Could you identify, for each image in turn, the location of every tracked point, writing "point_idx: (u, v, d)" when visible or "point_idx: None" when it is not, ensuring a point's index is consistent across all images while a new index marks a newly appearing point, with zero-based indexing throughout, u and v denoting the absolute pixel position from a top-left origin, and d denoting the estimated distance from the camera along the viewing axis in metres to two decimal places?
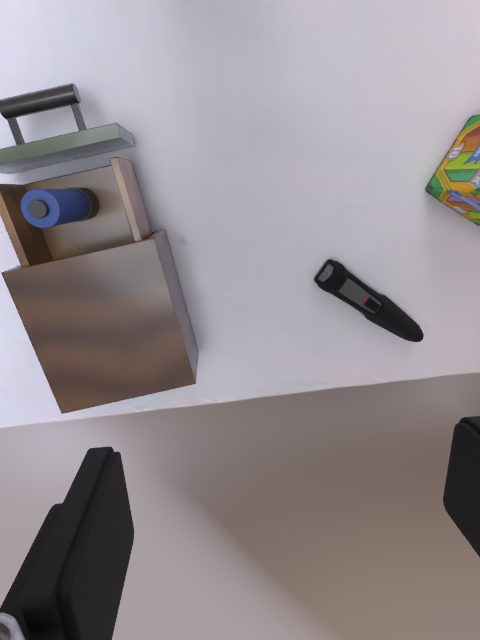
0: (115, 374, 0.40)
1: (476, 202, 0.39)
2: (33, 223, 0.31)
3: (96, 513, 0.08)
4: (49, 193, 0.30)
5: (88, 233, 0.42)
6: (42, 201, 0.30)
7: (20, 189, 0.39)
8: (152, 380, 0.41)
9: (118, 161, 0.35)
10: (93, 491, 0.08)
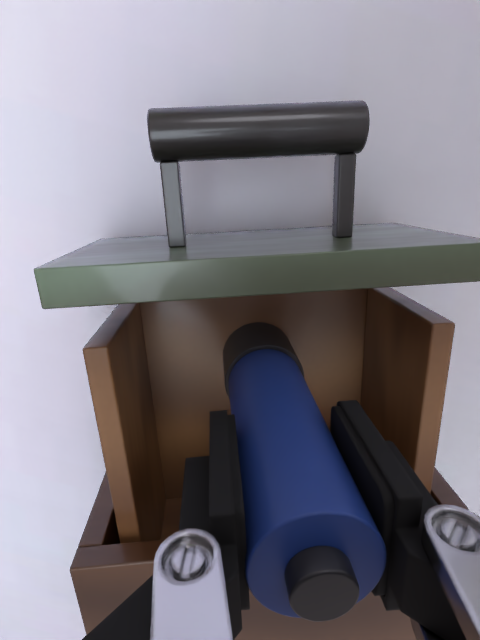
0: None
1: None
2: (273, 606, 0.08)
3: None
4: (369, 526, 0.08)
5: None
6: (350, 570, 0.07)
7: (134, 319, 0.16)
8: None
9: (451, 333, 0.13)
10: (229, 443, 0.10)
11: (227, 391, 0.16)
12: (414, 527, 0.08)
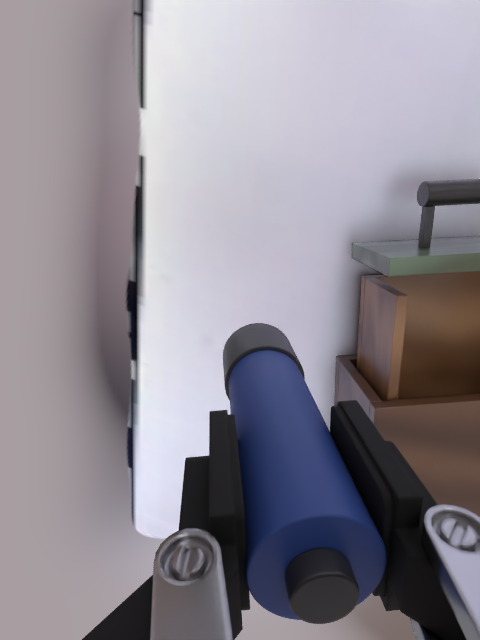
0: None
1: None
2: (273, 608, 0.08)
3: None
4: (370, 528, 0.08)
5: (424, 344, 0.33)
6: (350, 573, 0.07)
7: None
8: None
9: None
10: (229, 443, 0.10)
11: (227, 392, 0.16)
12: (414, 527, 0.08)
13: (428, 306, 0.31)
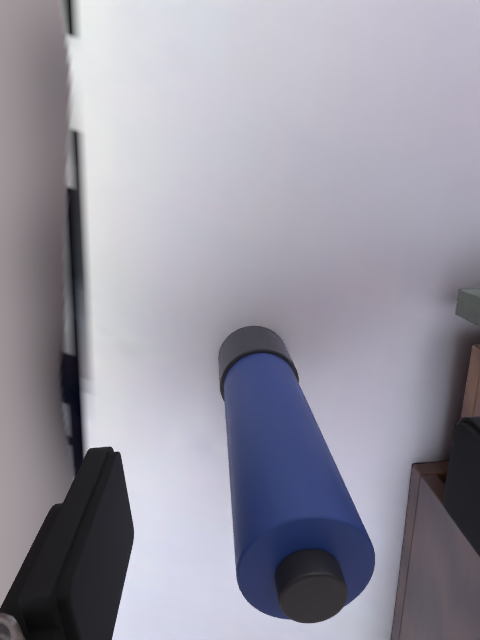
0: None
1: None
2: (264, 608, 0.08)
3: (96, 513, 0.08)
4: (358, 529, 0.08)
5: None
6: (338, 573, 0.08)
7: None
8: None
9: None
10: (93, 491, 0.08)
11: (222, 394, 0.16)
12: None
13: None
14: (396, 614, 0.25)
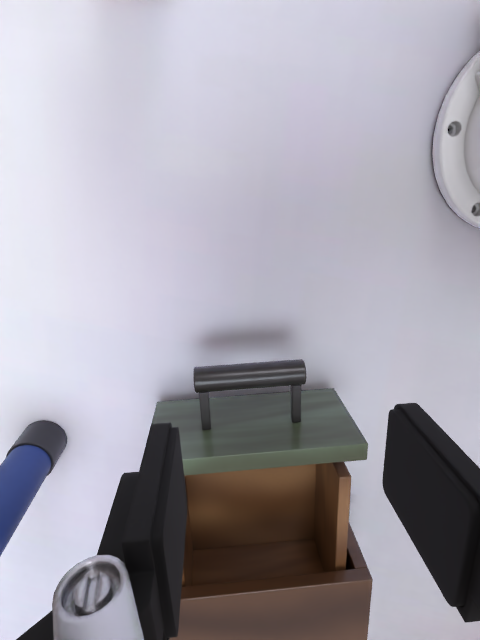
0: None
1: None
2: None
3: (170, 477, 0.09)
4: None
5: (245, 497, 0.31)
6: None
7: None
8: None
9: (350, 481, 0.24)
10: (164, 459, 0.09)
11: None
12: None
13: None
14: None
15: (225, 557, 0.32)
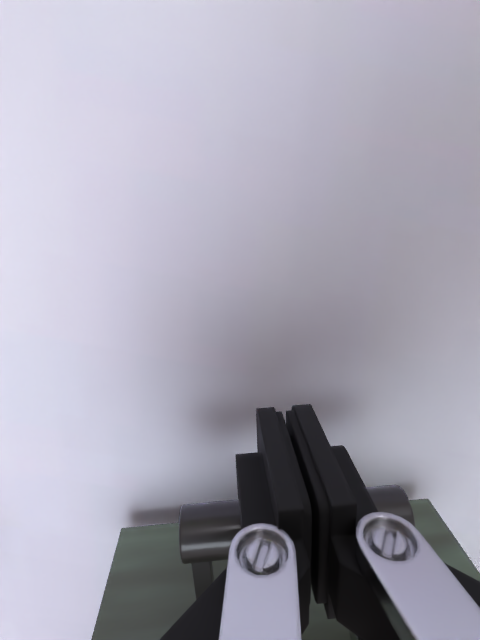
0: None
1: None
2: None
3: (295, 455, 0.09)
4: None
5: None
6: None
7: None
8: None
9: None
10: (282, 440, 0.10)
11: None
12: (350, 535, 0.08)
13: None
14: None
15: None
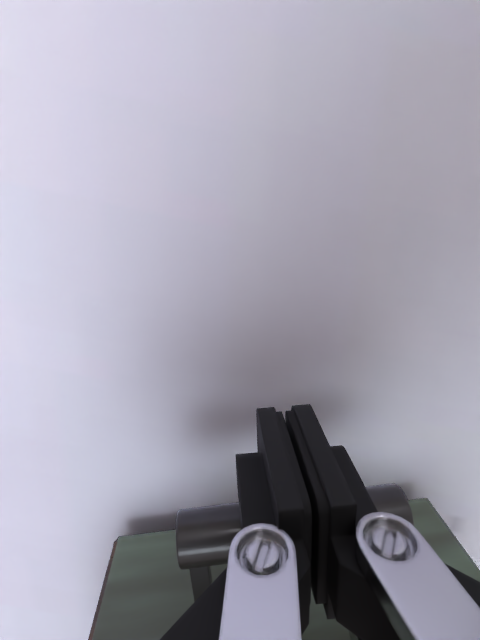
0: None
1: None
2: None
3: (295, 455, 0.09)
4: None
5: None
6: None
7: None
8: None
9: None
10: (282, 440, 0.10)
11: None
12: (349, 535, 0.08)
13: None
14: None
15: None
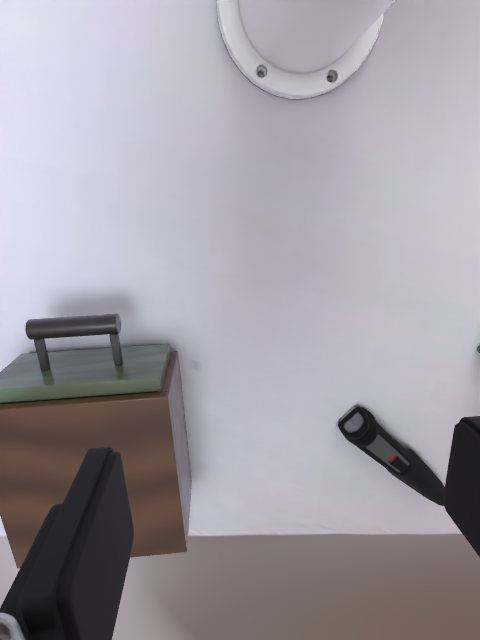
0: None
1: None
2: None
3: (96, 513, 0.08)
4: None
5: None
6: None
7: None
8: (135, 544, 0.34)
9: None
10: (93, 491, 0.08)
11: None
12: None
13: None
14: None
15: None
